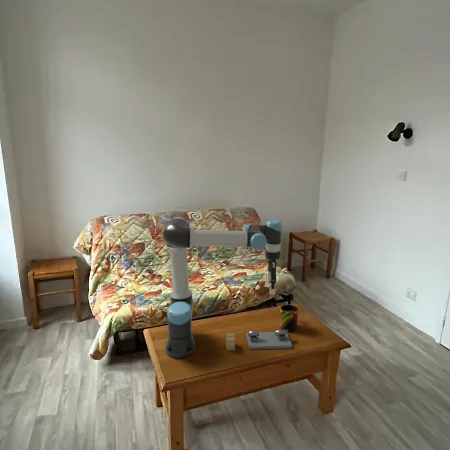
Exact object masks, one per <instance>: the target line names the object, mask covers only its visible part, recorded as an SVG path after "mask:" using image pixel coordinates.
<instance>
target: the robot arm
mask: <svg viewBox="0 0 450 450" xmlns="http://www.w3.org/2000/svg"><path fill="white" fill-rule="evenodd" d="M282 228H283V227H282V222H281V221H280V220H275V219H274V220H273V219H272V220H268V221H267V222H266V223H265V224H245V225H243V228H242V230H215V229H214V230H212V229H210V230H209V229H194V228H193V227H190V225H189V222H188V221H187V220H186V219H184V218H182V217H180V216H177V217H173V218H171V219H169V220H168V221H167V223H166V224H165V228H164V229H163V231H162V238H163V241H164V242H165V244H166V247H167V248H168V249H169V257H170V271H171V272H170V273H171V284H172V287H171V288H172V291H171V292H170V294H169V295H170V299H169V300H170V305H169V306H168V309H167V311H166V316H167V327H168V328H167V331H168V333H167V334H168V336H167V339H166V343H165V346H164V347H165V348H164V349H165V354H167V356H169V357H171V358H175V359H184V358H187V357H189V356H191V355H192V354H194V353H195V351H196V341H195V339H194V337H193V334H192V333H193V332H192V331H193V330H192V329H193V328H192V320H193V319H192V318H193V311H194V305H195V303H194V301H195V300H194V298H193V291H192V290H191V289H190V284H189V280H190V279H189V266H188V265H189V264H188V250H187V249H191V248H193V247H221V248H222V247H229V248H230V247H231V248H232V247H233V248H237V247H238V248H253V249H254V250H256V251H260V250H263V249H264V248H265V255H264V257H265V258H266V259H267V260H268V261H267V263H268V266H267V284H269V295H276V285H277V266H278V265H277V260H279V259H280V258H281V247H282V246H283V245H282V243H281V242H282V231H283V230H282Z"/></svg>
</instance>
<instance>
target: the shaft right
mask: <svg viewBox="0 0 450 450" xmlns="http://www.w3.org/2000/svg"><path fill="white" fill-rule="evenodd" d="M274 332H275V335H276V336H277V338H278V339H279V341H281V340H286V336H285V334H288V335H289V333H288V330H287V329H283V330H281V329H278V330H274Z"/></svg>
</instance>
